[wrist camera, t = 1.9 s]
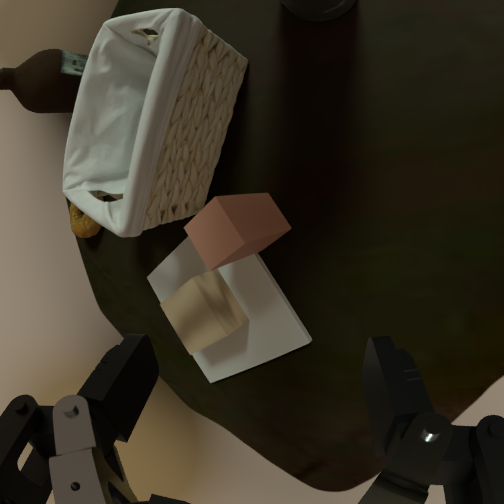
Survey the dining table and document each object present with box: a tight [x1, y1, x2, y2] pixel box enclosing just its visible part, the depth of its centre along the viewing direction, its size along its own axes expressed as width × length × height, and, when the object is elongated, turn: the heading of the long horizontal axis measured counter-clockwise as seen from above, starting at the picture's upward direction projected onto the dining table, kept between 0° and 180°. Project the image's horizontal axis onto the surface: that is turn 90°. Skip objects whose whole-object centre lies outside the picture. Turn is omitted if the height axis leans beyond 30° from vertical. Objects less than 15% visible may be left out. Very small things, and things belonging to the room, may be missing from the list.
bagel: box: [70, 196, 104, 238], centre depth 54 cm, size 10×11×5 cm
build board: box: [147, 236, 312, 383], centre depth 42 cm, size 20×20×1 cm
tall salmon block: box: [184, 193, 292, 271], centre depth 32 cm, size 5×5×10 cm
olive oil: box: [0, 49, 89, 113], centre depth 35 cm, size 11×11×25 cm
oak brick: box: [160, 269, 249, 355], centre depth 40 cm, size 8×8×5 cm
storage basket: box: [62, 8, 248, 237], centre depth 33 cm, size 24×16×15 cm
